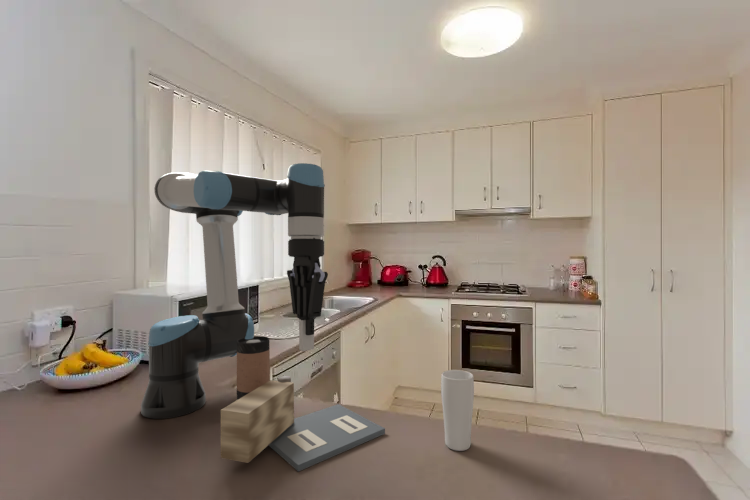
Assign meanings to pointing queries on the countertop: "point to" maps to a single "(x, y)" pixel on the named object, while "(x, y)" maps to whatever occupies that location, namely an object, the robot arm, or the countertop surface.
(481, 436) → the countertop surface
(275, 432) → the tan wooden block
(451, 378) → the drinking glass
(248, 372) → the travel mug
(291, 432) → the label board
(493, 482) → the countertop surface
